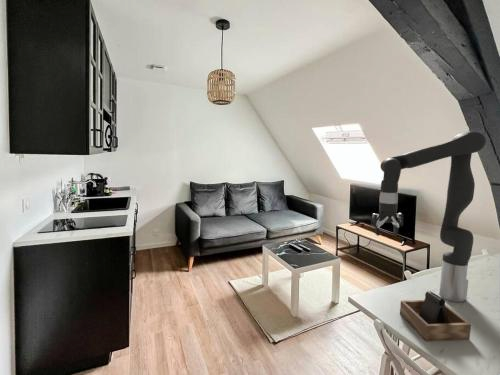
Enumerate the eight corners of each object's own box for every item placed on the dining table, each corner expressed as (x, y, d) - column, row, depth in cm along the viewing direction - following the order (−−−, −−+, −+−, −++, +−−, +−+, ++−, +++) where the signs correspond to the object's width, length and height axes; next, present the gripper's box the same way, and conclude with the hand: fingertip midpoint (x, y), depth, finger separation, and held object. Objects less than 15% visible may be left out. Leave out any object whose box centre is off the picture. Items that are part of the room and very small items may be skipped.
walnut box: (437, 312, 111) (438, 299, 111) (469, 339, 96) (471, 324, 95) (399, 313, 111) (400, 300, 110) (426, 341, 95) (427, 326, 94)
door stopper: (429, 330, 99) (431, 300, 98) (416, 320, 105) (418, 292, 103) (449, 327, 101) (452, 297, 99) (436, 317, 107) (438, 289, 105)
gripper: (398, 199, 127) (396, 232, 130) (369, 200, 127) (367, 232, 129) (408, 202, 120) (405, 237, 122) (377, 203, 119) (375, 237, 122)
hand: (386, 234), depth 126 cm, fingers open, 8 cm apart
